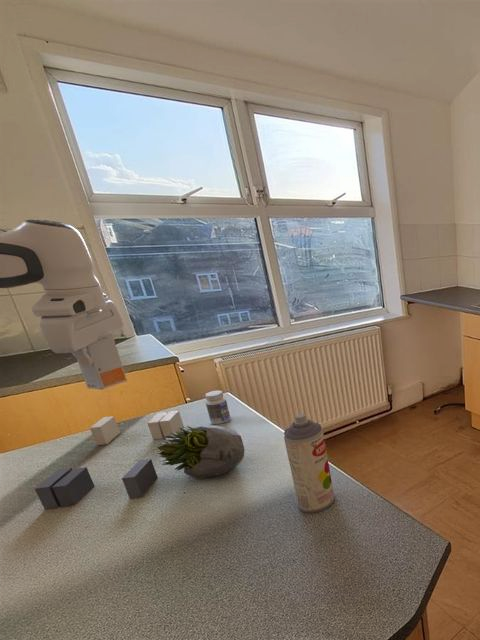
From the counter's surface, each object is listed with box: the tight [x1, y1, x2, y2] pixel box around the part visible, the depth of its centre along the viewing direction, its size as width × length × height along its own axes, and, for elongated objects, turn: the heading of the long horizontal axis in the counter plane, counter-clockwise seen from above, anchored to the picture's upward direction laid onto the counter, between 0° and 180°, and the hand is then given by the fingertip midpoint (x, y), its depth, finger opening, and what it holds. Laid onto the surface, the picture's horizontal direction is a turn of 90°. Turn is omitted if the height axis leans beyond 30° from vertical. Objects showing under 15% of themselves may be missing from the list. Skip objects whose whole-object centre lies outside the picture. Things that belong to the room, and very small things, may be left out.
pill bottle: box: [204, 390, 231, 425], centre depth 119 cm, size 5×5×8 cm
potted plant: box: [156, 424, 245, 479], centre depth 95 cm, size 12×13×15 cm
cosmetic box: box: [76, 333, 128, 391], centre depth 99 cm, size 6×4×12 cm
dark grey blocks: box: [34, 458, 159, 510], centre depth 89 cm, size 16×7×5 cm, turn 105°
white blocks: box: [89, 410, 185, 446], centre depth 111 cm, size 17×6×5 cm, turn 105°
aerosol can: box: [283, 413, 336, 514], centre depth 85 cm, size 7×7×20 cm
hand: (99, 359), depth 99 cm, fingers closed on cosmetic box, 7 cm apart
